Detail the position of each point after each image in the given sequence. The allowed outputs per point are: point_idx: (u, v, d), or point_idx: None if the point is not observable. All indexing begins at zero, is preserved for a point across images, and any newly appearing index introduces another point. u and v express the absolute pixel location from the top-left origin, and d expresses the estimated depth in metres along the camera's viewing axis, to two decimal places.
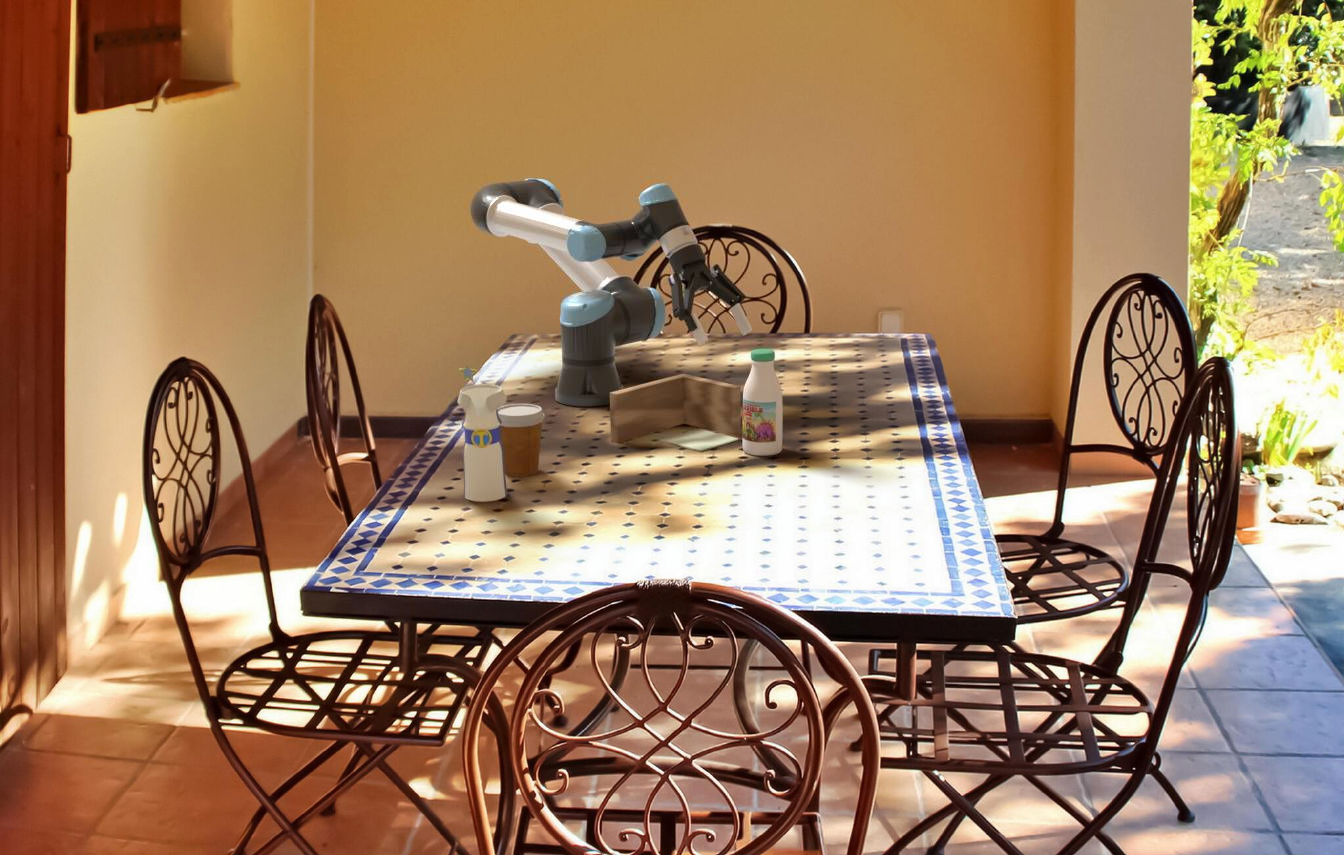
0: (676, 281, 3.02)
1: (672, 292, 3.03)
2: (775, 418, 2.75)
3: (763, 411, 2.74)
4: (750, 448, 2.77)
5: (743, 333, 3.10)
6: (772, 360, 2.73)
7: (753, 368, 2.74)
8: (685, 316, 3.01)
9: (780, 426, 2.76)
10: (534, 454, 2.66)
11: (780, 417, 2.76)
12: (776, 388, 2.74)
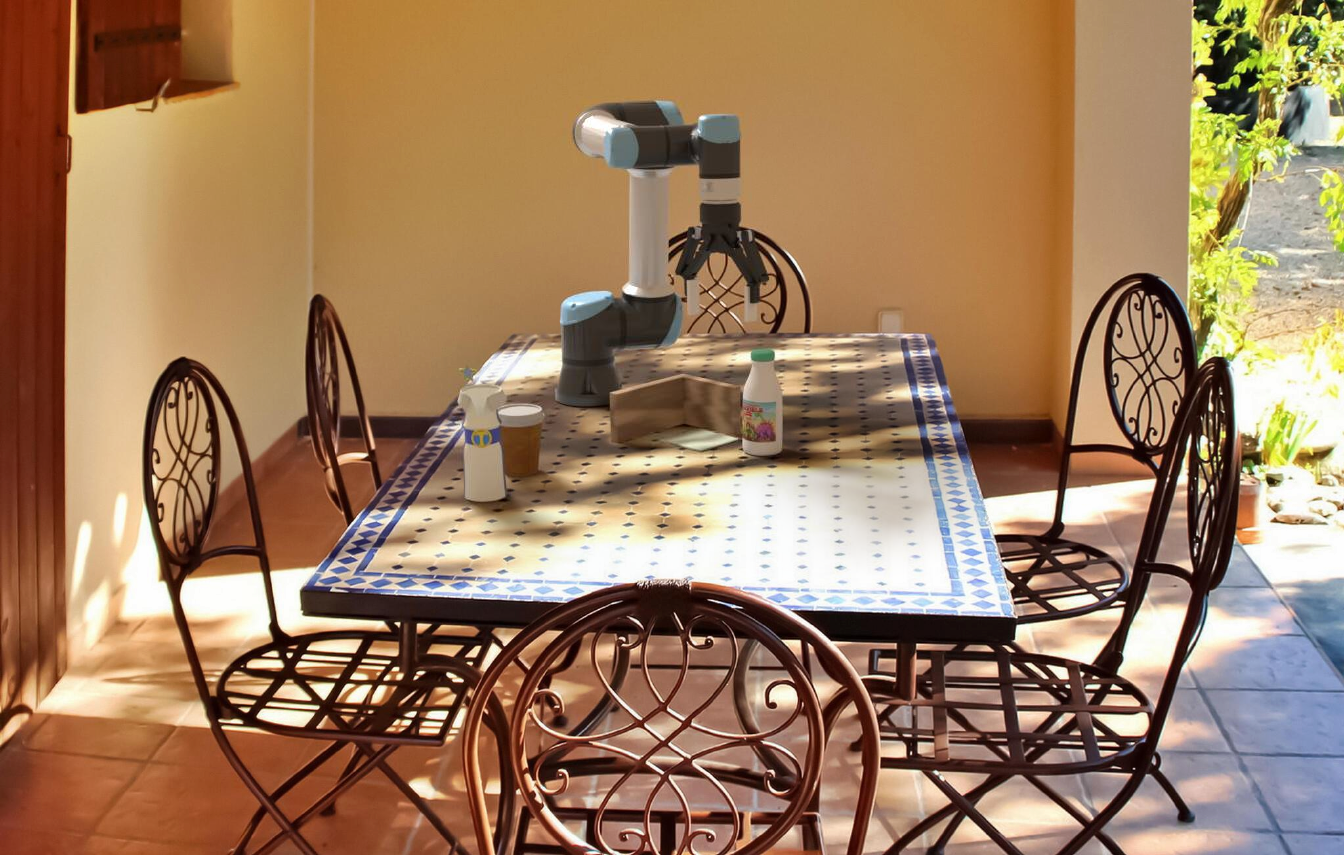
0: None
1: None
2: (775, 418, 2.75)
3: (763, 411, 2.74)
4: (750, 448, 2.77)
5: None
6: (772, 360, 2.73)
7: (753, 368, 2.74)
8: None
9: (780, 426, 2.76)
10: (534, 454, 2.66)
11: (780, 417, 2.76)
12: (776, 388, 2.74)
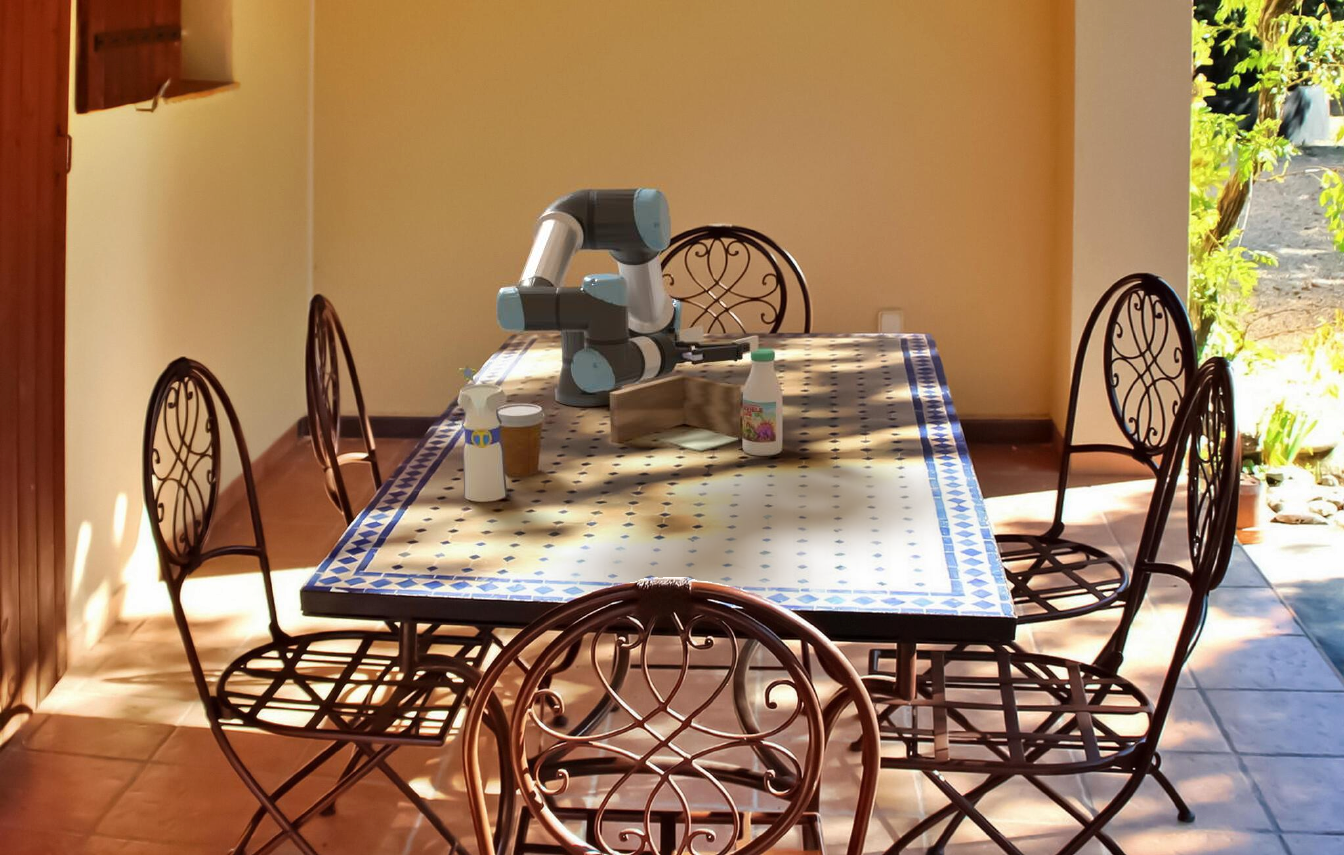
0: None
1: None
2: (775, 418, 2.75)
3: (763, 411, 2.74)
4: (750, 448, 2.77)
5: None
6: (772, 360, 2.73)
7: (753, 368, 2.74)
8: None
9: (780, 426, 2.76)
10: (534, 454, 2.66)
11: (780, 417, 2.76)
12: (776, 388, 2.74)
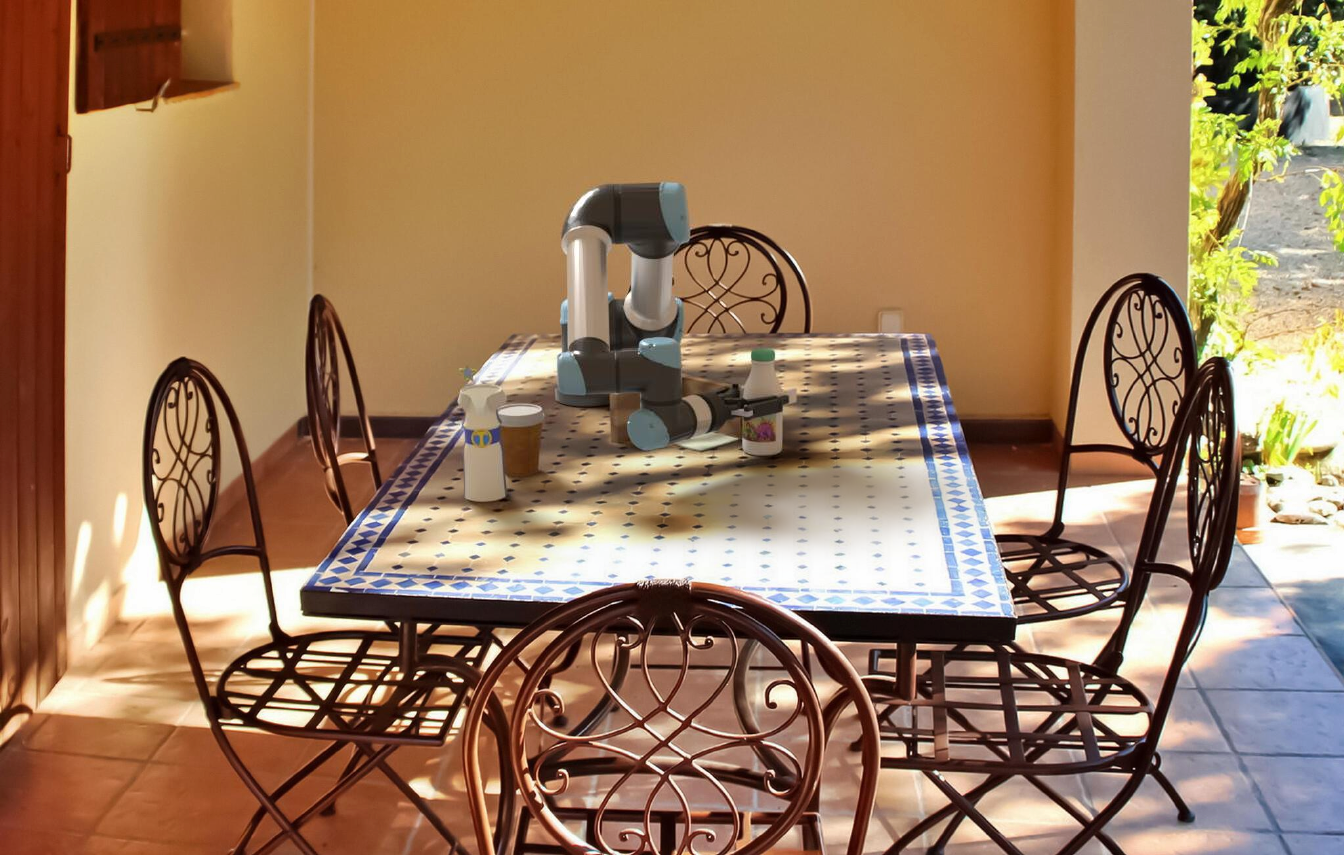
0: None
1: None
2: (775, 418, 2.75)
3: None
4: (750, 448, 2.77)
5: None
6: (772, 360, 2.73)
7: (753, 368, 2.74)
8: None
9: (780, 426, 2.76)
10: (534, 454, 2.66)
11: (780, 417, 2.76)
12: (776, 388, 2.74)
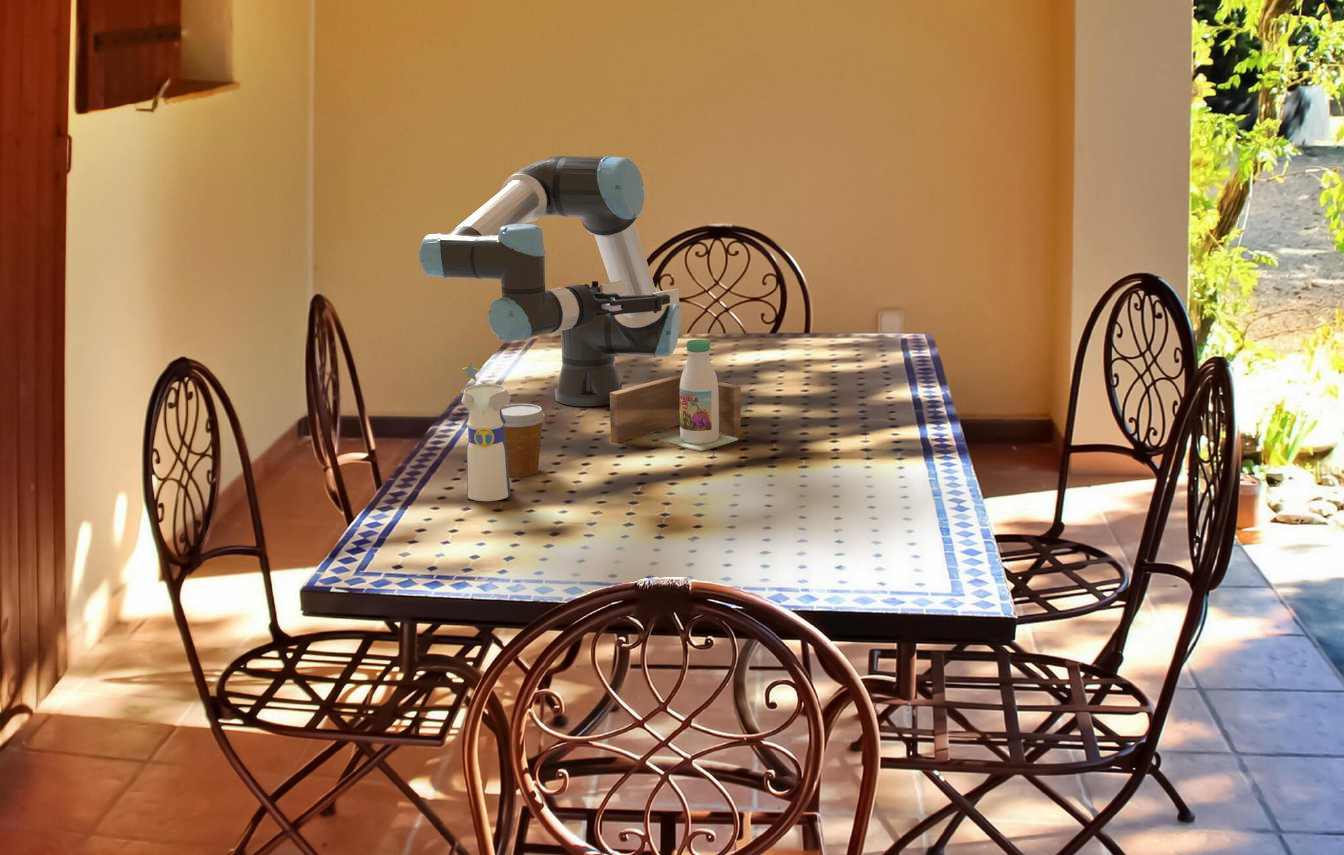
0: None
1: None
2: (710, 407, 2.82)
3: (698, 401, 2.81)
4: (687, 436, 2.84)
5: None
6: (707, 350, 2.80)
7: (689, 358, 2.81)
8: None
9: (716, 415, 2.83)
10: (534, 454, 2.66)
11: (716, 406, 2.83)
12: (711, 378, 2.81)
